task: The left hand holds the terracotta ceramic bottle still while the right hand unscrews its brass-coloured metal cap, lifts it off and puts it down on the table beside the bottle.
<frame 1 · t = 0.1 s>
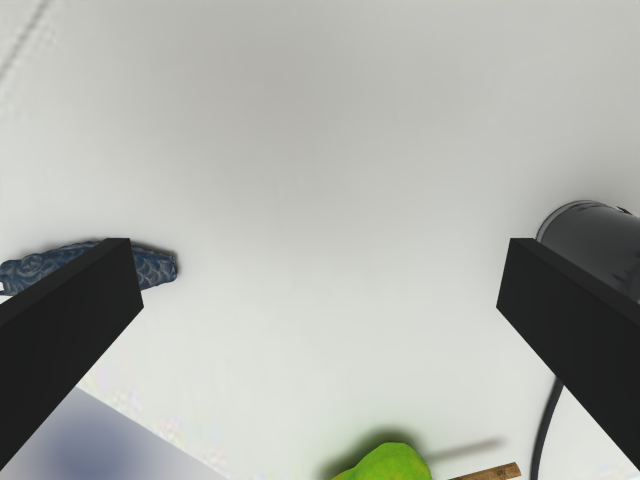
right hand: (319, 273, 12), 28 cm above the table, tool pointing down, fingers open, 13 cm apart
decorative tree: (406, 461, 55), on the table
fish model: (96, 266, 43), on the table
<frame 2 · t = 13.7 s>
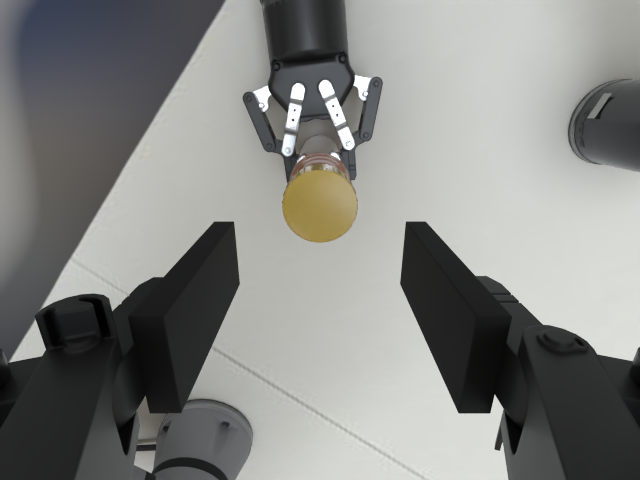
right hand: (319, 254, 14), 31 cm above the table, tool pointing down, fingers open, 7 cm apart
left hand: (322, 186, 38), fingers closed on bottle, 4 cm apart
bottle: (319, 154, 43), on the table, touching left hand
cap: (319, 206, 21), point 24 cm above the table, screwed on, not yet turned
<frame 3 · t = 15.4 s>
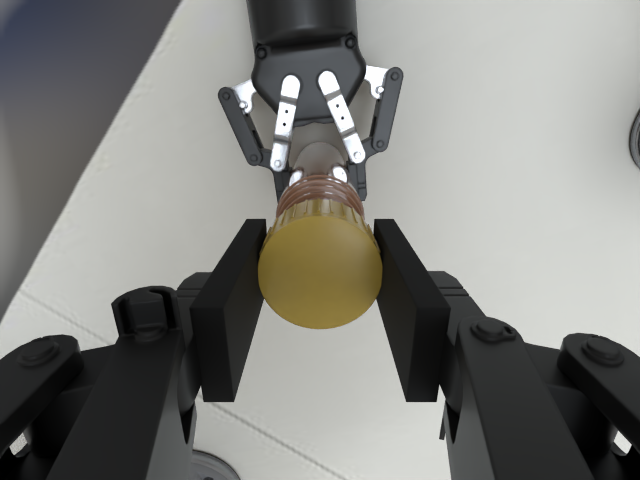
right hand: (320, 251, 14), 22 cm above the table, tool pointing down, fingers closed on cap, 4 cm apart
left hand: (322, 208, 30), fingers closed on bottle, 4 cm apart
bottle: (320, 165, 34), on the table, touching left hand
cap: (320, 272, 12), point 24 cm above the table, screwed on, not yet turned, touching right hand
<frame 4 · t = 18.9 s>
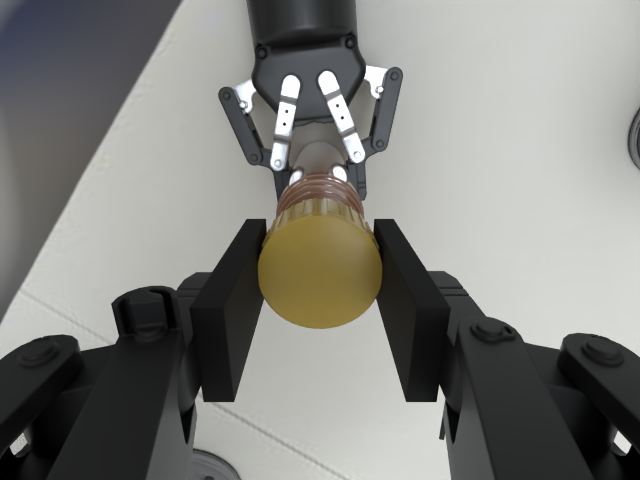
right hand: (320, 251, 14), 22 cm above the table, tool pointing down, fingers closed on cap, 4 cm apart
left hand: (322, 208, 30), fingers closed on bottle, 4 cm apart
bottle: (319, 165, 35), on the table, touching left hand
cap: (319, 272, 12), point 24 cm above the table, turned 123° so far, risen 0.1 cm, still on its thread, touching right hand
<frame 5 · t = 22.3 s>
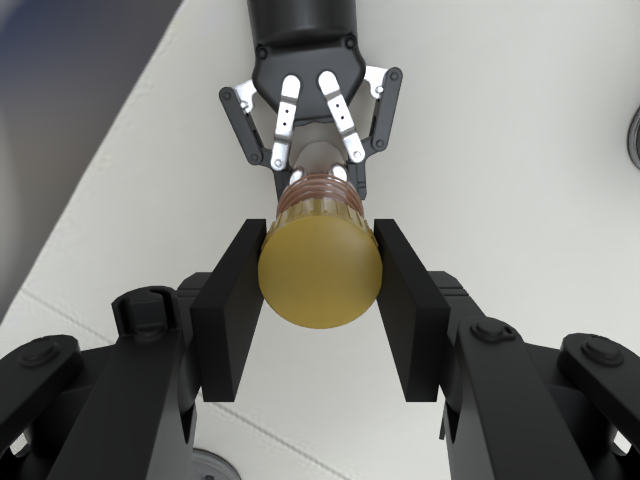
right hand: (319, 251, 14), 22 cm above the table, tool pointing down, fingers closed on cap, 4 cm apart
left hand: (322, 207, 30), fingers closed on bottle, 4 cm apart
bottle: (320, 165, 35), on the table, touching left hand
cap: (320, 272, 12), point 24 cm above the table, turned 246° so far, risen 0.2 cm, still on its thread, touching right hand
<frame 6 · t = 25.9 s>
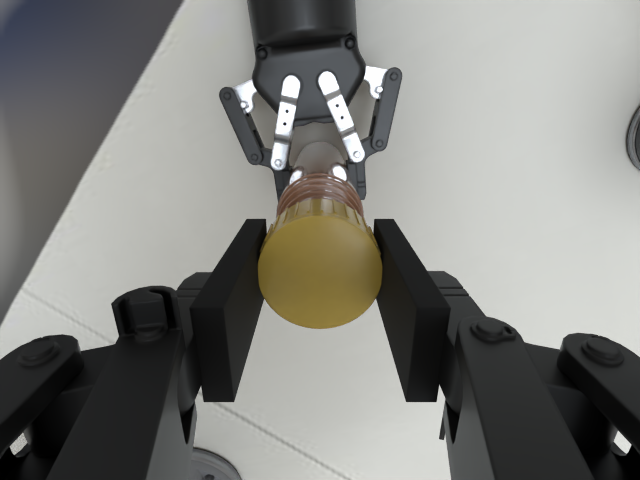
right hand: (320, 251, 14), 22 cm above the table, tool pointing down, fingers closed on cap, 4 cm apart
left hand: (322, 207, 30), fingers closed on bottle, 4 cm apart
bottle: (319, 165, 35), on the table, touching left hand
cap: (319, 272, 12), point 24 cm above the table, turned 369° so far, risen 0.3 cm, still on its thread, touching right hand
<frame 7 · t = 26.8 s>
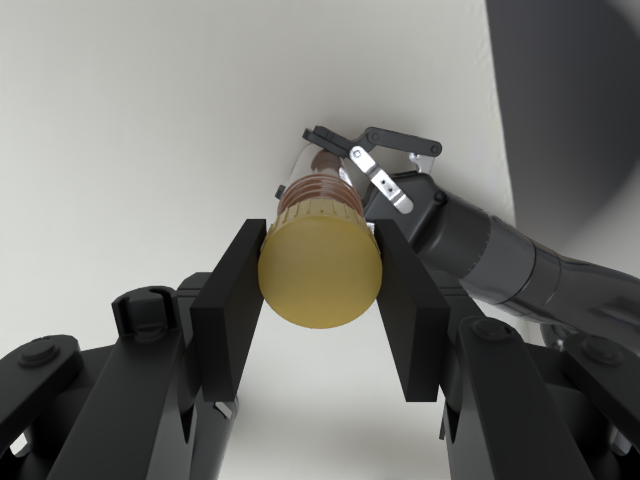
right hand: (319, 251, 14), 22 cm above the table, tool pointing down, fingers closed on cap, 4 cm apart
left hand: (291, 162, 29), fingers closed on bottle, 4 cm apart
bottle: (320, 165, 35), on the table, touching left hand
cap: (320, 272, 12), point 24 cm above the table, off its thread, touching right hand
when the right hand's fingers open (1 cm above the table, at t = 33.5 s): cap drops 1 cm, point 2 cm above the table.
when the left hand's fingers open (6 cm above the table, at t = 34.8 s): bottle stays where it is, on the table.
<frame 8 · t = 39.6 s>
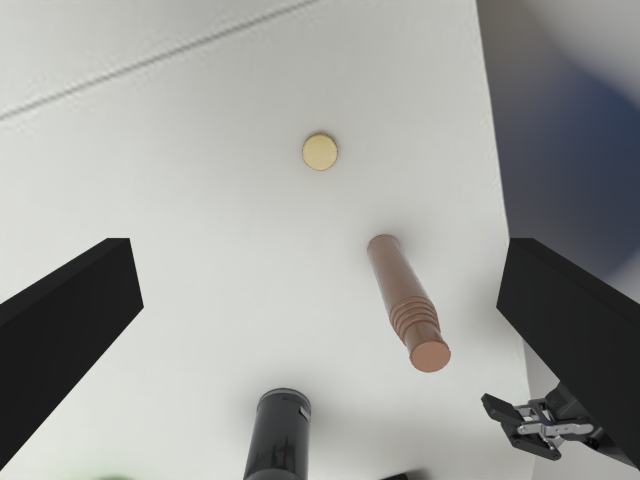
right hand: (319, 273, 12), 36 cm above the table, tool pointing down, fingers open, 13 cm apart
bottle: (383, 249, 51), on the table
cap: (319, 153, 44), point 2 cm above the table, off its thread
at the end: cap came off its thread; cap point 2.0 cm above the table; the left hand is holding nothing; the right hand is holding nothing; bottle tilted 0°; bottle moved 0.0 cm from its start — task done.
